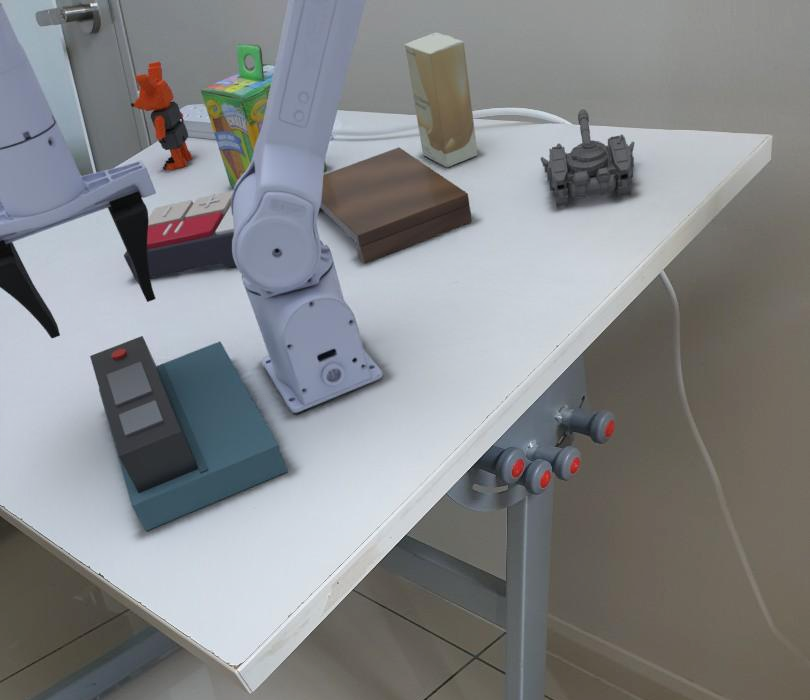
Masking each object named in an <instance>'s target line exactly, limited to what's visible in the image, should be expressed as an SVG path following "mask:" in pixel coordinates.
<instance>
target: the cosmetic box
mask: <svg viewBox="0 0 810 700" xmlns="http://www.w3.org/2000/svg"><path fill="white" fill-rule="evenodd" d="M404 49H405V54H406V60H407V67H408V72H409V73H408V74H409V78H410V84H411V91H412V96H413V97H412V98H413V102H414V107H415V115H416V120H417V125H418V133H419V139H420V145H421V152H422V154H423V156H424V157H427V158H428V159H430V160H432V161H434V162H435V163H437V164H439V165H442V166H443V167H445V168H449V167H452V166H454V165H457V164H460V163H461V162H465V161H467V160H469V159H472V158H474V157H477V156H478V146H477V138H476V129H475V122H474V115H473V114H474V113H473V105H472V97H471V89H470V81H469V73H468V65H467V56H466V48H465V42H464V40H462V39H458V38H455V37H453V36H451V35H445V34H444V33H441V32H438V31H437V32H434V33H430V34H429V35H428V34H427V35H425V36H423V37H419V38H417V39H414V40H412V41H410V42H406V43H404Z"/></svg>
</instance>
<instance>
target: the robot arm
mask: <svg viewBox="0 0 810 700" xmlns="http://www.w3.org/2000/svg"><path fill="white" fill-rule="evenodd" d="M365 4H366V0H288V1H287V5H286V10H285V15H284V19H283V24H282V29H281V35H280V40H279V44H278V48H277V52H276V58H275V63H274V65H275V67H274V72H273V77H272V82H271V87H270V91H269V96H268V101H267V106H266V111H265V115H264V120H263V125H262V129H261V131H260V134H259V136H258V139H257V141H256V144H255V148H254V153H253V157H252V161H251V163H250V165H249V167H248V169H247V170H246V172H245V173H244V174H243V175H242V176H241V177H240V178H239V180H238V181H237V183H236V184H235V186H233V189H232V191H233V192H232V196H231V210H232V215H233V221H234V236H233V239H232V254H233V259H234V262H235V265H236V267H235V268H237V270H238V272H239V274H241V281H242V283H243V286H244V289H245V291H246V294H247V297H248V299H249V303H250V306H251V309H252V312H253V314H254V317H255V320H256V323H257V325H258V328H259V331H260V335H261V337H262V340H263V343H264V345H265V348H266V351H267V354H268V355H267V356H265V357H263V358H262V359H261V363H262V366H263V368H264V369H265V371H266V372H267V374H268V376H269V377H270V379H271V381H272V382H273V384H274V386H275V387H276V389H277V391H278V392H279V394H280V395H281V397H282V399H283V400H284V403H285V404H286V405H287V408H289V411H290V412H291V413H293V414H294V413H295V414H297V413H300V412H302V411H304V410H307V409H310V408H312V407H314V406H317V405H320V404H322V403H324V402H327V401H329V400H332V399H334V398H337V397H340V396H341V395H344V394H346V393H348V392H351V391H354V390H357V389H358V388H361V387H363V386H366V385H369V384H371V383H374V382H376V381H378V380H381V379H382V378H383V375H384V374H383V370H382V369H381V368H380V367H379V366H378V365H377V363H376V362H375V361H374V360H373V358H371V356H370V354H369V353H367V351H366V350H365V349H364V345H363V342H362V338H361V333H360V331H359V327H358V323H357V322H358V321H357V319H356V316H355V314H354V311H353V310H352V308H351V307H350V305H349V304H348V303H347V302H346V300H345V297H344V295H343V294H344V293H343V290H342V287H341V283H340V279H339V275H338V273H337V269H336V265H335V261H334V258H333V254H332V251H331V249H330V246H328V245H327V244H324V243H323V241H322V240H321V239H320V235H319V231H318V217H319V212H320V210H319V209H320V205H321V199H322V188H323V175H324V174H325V170H324V163H325V164H326V157H327V153H328V149H329V145H330V141H331V138H332V133H333V129H334V125H335V121H336V117H337V114H338V110H339V106H340V102H341V98H342V94H343V91H344V86H345V83H346V78H347V74H348V70H349V67H350V63H351V59H352V56H353V51H354V47H355V45H356V39H357V36H358V32H359V28H360V24H361V21H362V16H363V12H364V10H365V9H364V8H365ZM156 194H157V191H156V188H155V187H154V183H153V181H152V178H151V176H150V173H149V171H148V168H147V167H146V165H145V164H144V162H143V161H142V160H138V161H135V162H132V163H129V164H126V165H121V166H117V167H113V168H110V169H106V170H105V169H104V170H101V171H97V172H93V173H89V174H85V175H82V174H81V173H80V170H79V167H78V166H77V164H76V161H75V159H74V157H73V154H72V153H71V151H70V148H69V145H68V143H67V141H66V139H65V137H64V135H63V133H62V131H61V128H60V126H59V124H58V122H57V119H56V117H55V115H54V113H53V111H52V109H51V106H50V104H49V101H48V99H47V97H46V95H45V92H44V91H43V88H42V85H41V83H40V82H39V80H38V78H37V75H36V73H35V71H34V69H33V66H32V64H31V62H30V59H29V57H28V55H27V53H26V51H25V49H24V47H23V45H22V44H21V43H20V41H19V39H18V37H17V34H16V32H15V30H14V28H13V26H12V23H11V21H10V19H9V17H8V15H7V13H6V11H5V8H4V6H3V4H2V2H0V203H1V204H0V289H2V290H3V291H4V292H6V293H7V294H8V295H10V297H12V298H13V299H15V300H16V301H17V302H18V303H19V304H20V305H21V306H22V307H24V308H25V310H27V311H28V312H29V314H31V316H33V318H35V319H36V321H37V323H39V324H40V325H41V327H42V328H43V329H44V330H45V331H46V333H47V334H48V336H49V337H50V338H51V339H55V338H57V337H60V336H61V333H60V330H59V326H58V323H57V321H56V319H55V318H54V316H53V314H52V311H51V310H50V308H49V307H48V305H47V304H46V302H45V300H44V299H43V297H42V296H41V294H40V292H39V291H38V290H37V288H36V286H35V285H34V283H33V281H32V279H31V276H30V275H29V273H28V271H27V269H26V267H25V265H24V263H23V261H22V259H21V257H20V255H19V253H18V251H17V249H16V247H15V245H14V242H16V241H19V240H23V239H25V238H27V237H30V236H33V235H35V234H39V233H41V232H44V231H47V230H50V229H52V228H55V227H58V226H60V225H61V226H62V225H64V224H66V223H68V222H69V223H70V222H72V221H75V220H77V219H81V218H83V217H85V216H88V215H91V214H94V213H96V212H100V211H103V210H105V209H108V212H109V214H110V216H111V219H112V221H113V224H114V225H115V227H116V230H117V232H118V234H119V236H120V239H121V240H122V244H123V245H124V248H125V249H126V251H127V253H128V255H129V258H130V261H131V264H132V267H133V270H134V273H135V276H136V278H137V280H136V281H137V283H138V285H139V288H140V291H141V293H142V294H143V296H144V298H145V300H146V302H147V303H149V302H151V301H154V300H156V299H157V298H156V295H155V293H154V289H153V284H152V280H151V278H150V274H149V267H148V255H147V235H148V222H149V221H148V217H149V211H148V207H147V205H146V204H145V202H144V200H143V198H147V197H151V196H153V195H156Z"/></svg>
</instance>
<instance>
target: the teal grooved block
mask: <svg viewBox="0 0 810 700" xmlns="http://www.w3.org/2000/svg"><path fill="white" fill-rule="evenodd" d="M156 366H157V368H158V370H159V373H160V375H161V378H162V380H163V383H164V385H165V388H166V390H167V392H168V395H169V397H170V400H171V402H172V405H173V407H174V410H175V412H176V415H177V417H178V420H179V422H180V424H181V427H182V429H183V432H184V434H185V437H186V439H187V442H188V444H189V447H190V449H191V451H192V454H193V456H194V459H195V461H196V464H197V466H198V469H196V470H194V471H191V472H189V473H187V474H184V475H182V476H179V477H177V478H174V479H172V480H170V481H167V482H165V483H162V484H160V485H158V486H155V487H153V488H150V489H148V490H145V491H143V492H141V493H138V491H137V489H136V488H135V486H134V484H133V482H132V480H131V478H130V476H129V475H128V473H127V471H126V469H125V467H124V465H123V464H122V462H121V460H120V458H119V456H118V452H117V449H116V445H115V442H114V438H113V435H112V431H111V428H110V424H109V421H108V417H107V414H106V410H105V407H104V403H103V400H102V396H101V393H100V389H99V388H98V392H99V395H100V399H101V402H102V405H103V409H104V413H105V416H106V420H107V423H108V427H109V431H110V434H111V437H112V441H113V444H114V448H115V451H116V454H117V458H118V463H119V465H120V469H121V472H122V473H121V474H122V476H123V479H124V484H125V486H126V490H127V494H128V497H129V501H130V504H131V507H132V509H133V511H134V513H135V514H136V516H137V518H138V520H139V522H140V523H141V525H142V527H143V529H144V530H145V532H147V531H151V530H152V529H155V528H157V527H160V526H162V525H164V524H167V523H169V522H171V521H174V520H176V519H179V518H180V517H183V516H185V515H188V514H190V513H193V512H195V511H198V510H200V509H203V508H205V507H207V506H209V505H213V504H214V503H217V502H219V501H221V500H224V499H226V498H228V497H231V496H233V495H236V494H238V493H241V492H243V491H246V490H248V489H251V488H252V487H255V486H257V485H260V484H262V483H264V482H267V481H269V480H272V479H274V478H277V477H278V476H281V475H283V474H286V473H288V472H289V471H288V468H287V465H286V463H285V460H284V457H283V455H282V452H281V450H280V447H279V444H278V442H277V441H276V439H275V437H274V435H273V434H272V432H271V430H270V428H269V426H268V425H267V423H266V421H265V419H264V417H263V416H262V414H261V412H260V410H259V408H258V407H257V404H256V402H255V401H254V399H253V397H252V396H251V394H250V392H249V390H248V388H247V386H246V385H245V383H244V381H243V379H242V377H241V376H240V374H239V372H238V370H237V368H236V366H235V365H234V363H233V361H232V359H231V358H230V356H229V354H228V352H227V351H226V349H225V347H224V345H223V344H222V342H221V341H217V342H214V343H212V344H210V345H206V346H205V347H202V348H199V349H197V350H194V351H192V352H189V353H186V354H184V355H181V356H179V357H176V358H173V359H171V360H168V361H166V362H163V363H161V364H158V365H156Z"/></svg>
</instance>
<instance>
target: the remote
mask: <svg viewBox="0 0 810 700" xmlns="http://www.w3.org/2000/svg"><path fill="white" fill-rule="evenodd" d="M89 358H90V361H91V364H92V368H93V371H94V376H95V379H96V383H97V385H98V390H99V389H100V392H99V394H100V393H101V395H100V397H101V396H102V399H101V401H102V400H103V402H102V404H103V403H104V406H103V408H104V407H105V410H106V413H105V415H106V414H107V417H108V420H107V422H108V421H109V424H110V427H109V429H110V428H111V431H112V434H111V436H112V435H113V438H114V441H113V443H114V442H115V445H116V448H115V450H116V449H117V452H118V455H117V457H118V456H119V458H120V460H121V462H122V464H123V465H124V467H125V469H126V471H127V473H128V475H129V476H130V478H131V480H132V482H133V484H134V486H135V488H136V489H137V491H138V493H141V492H143V491H145V490H148V489H150V488H153V487H155V486H158V485H160V484H162V483H165V482H167V481H170V480H172V479H174V478H177V477H179V476H182V475H184V474H187V473H189V472H191V471H194V470H196V469H198V466H197V464H196V461H195V459H194V456H193V454H192V451H191V449H190V447H189V444H188V442H187V439H186V437H185V434H184V432H183V429H182V427H181V424H180V422H179V420H178V417H177V415H176V412H175V410H174V407H173V405H172V402H171V400H170V397H169V395H168V392H167V390H166V388H165V385H164V383H163V380H162V378H161V375H160V373H159V370H158V368H157V366H158V365H157V364H156V362H155V360H154V358H153V355H152V353H151V351H150V349H149V347H148V344H147V342H146V339H144V336H143V335H141V336H138V337H135V338H132V339H130V340H128V341H125V342H123V343H120V344H117V345H115V346H112V347H110V348H107V349H103V350H101V351H99V352H96V353H94V354H91V355H89ZM105 410H104V411H105ZM107 417H106V418H107ZM109 424H108V425H109ZM111 431H110V432H111ZM113 438H112V439H113ZM115 445H114V446H115ZM117 452H116V453H117Z"/></svg>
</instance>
